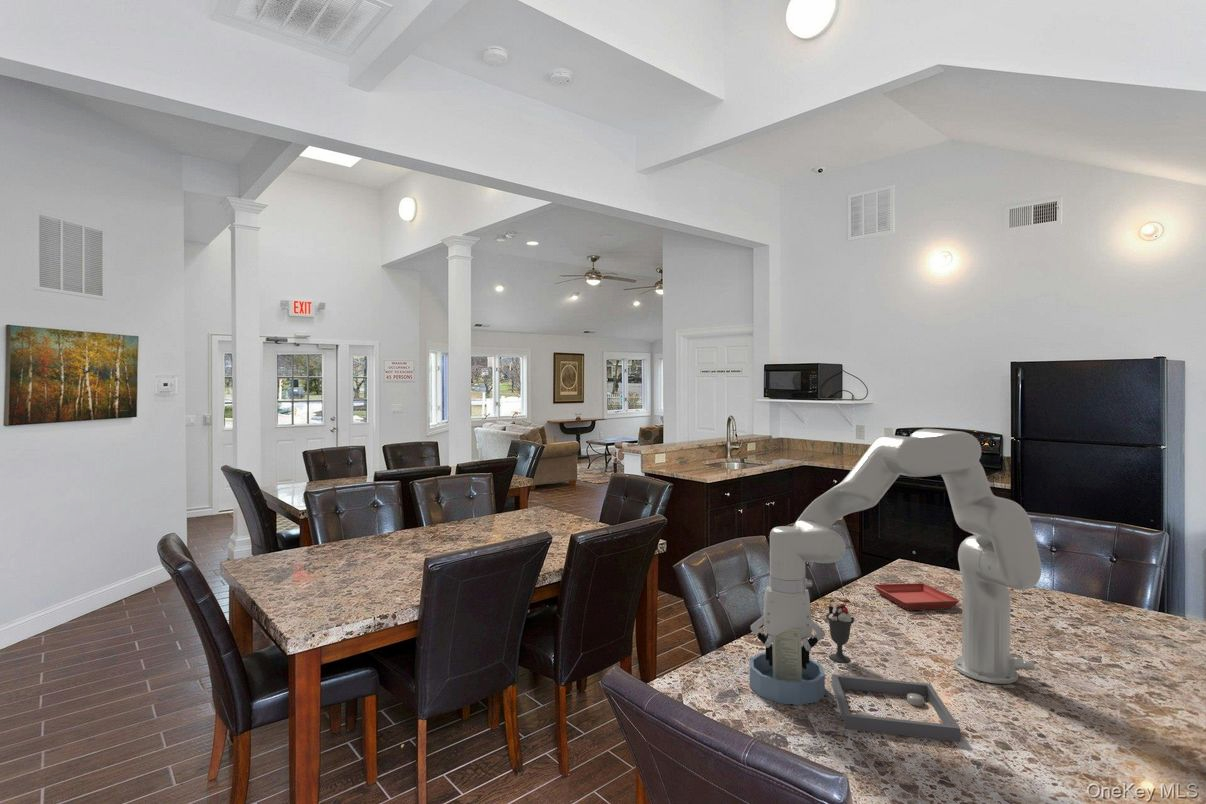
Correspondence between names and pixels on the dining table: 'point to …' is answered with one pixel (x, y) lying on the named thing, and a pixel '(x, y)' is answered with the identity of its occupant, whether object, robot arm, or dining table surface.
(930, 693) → the gray rectangular frame
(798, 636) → the skincare box
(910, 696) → the pebble
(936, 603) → the plant saucer
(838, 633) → the sundae
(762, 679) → the bowl
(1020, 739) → the dining table surface
